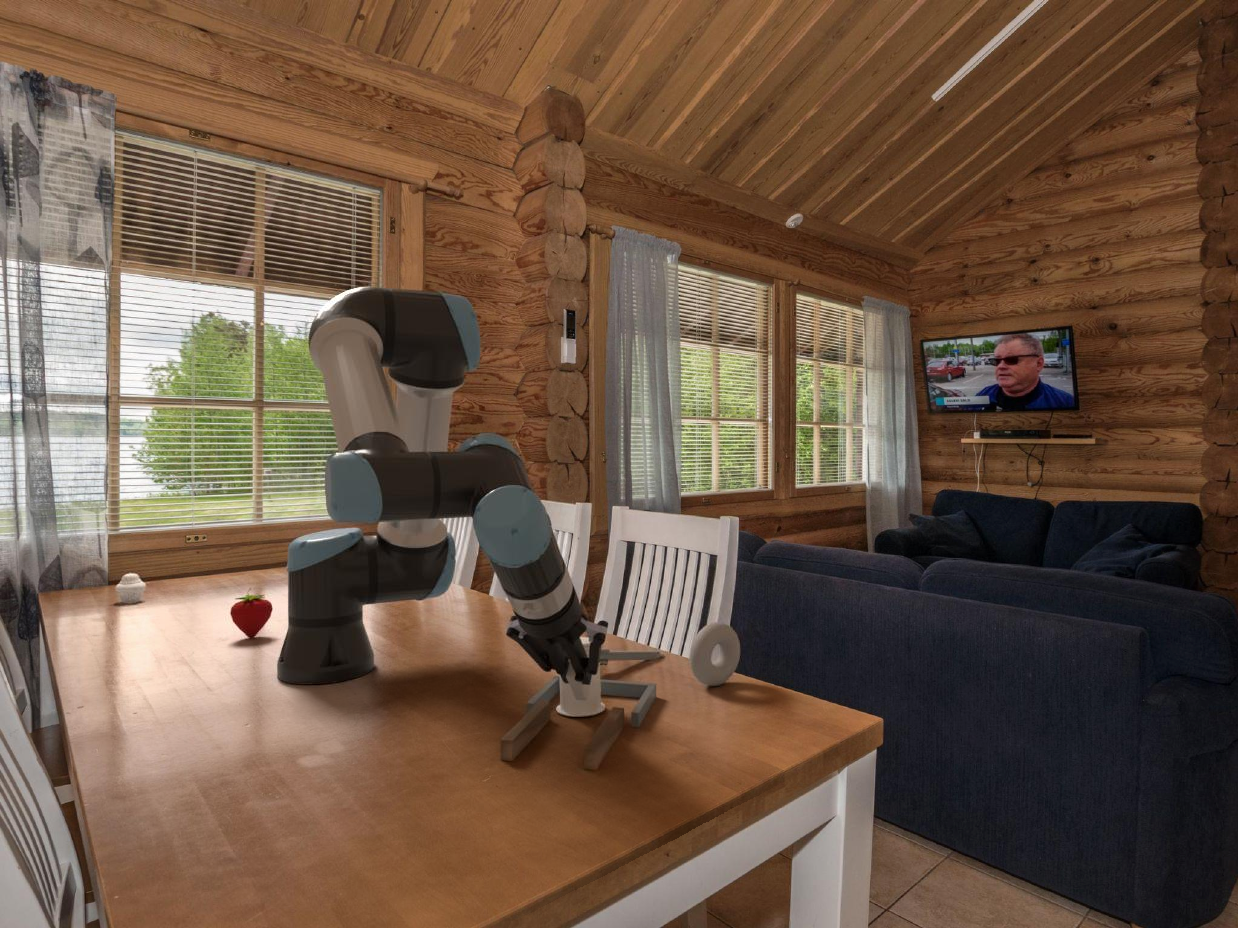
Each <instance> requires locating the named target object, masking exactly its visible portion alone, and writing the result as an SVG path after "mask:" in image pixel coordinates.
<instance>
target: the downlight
mask: <svg viewBox="0 0 1238 928" xmlns="http://www.w3.org/2000/svg"><path fill="white" fill-rule="evenodd" d="M580 639H581V642H582V644H583V647H584V649H585V652H586V654H587V657H588V658H589V647H590V643H591V642H589V641H588V640H589V637H588V636H587V637H585V636H580ZM569 661H570V660H569ZM558 676H559V677H560V691H559V701H560V702H559V704H558V705H557V706H556V708H555V709H556V713H558V714H560V715H562V716H566V717H575V718H576V717H589V716H596V715H598V714H600V713H603V712H604V710H606V705H605V704H604V703H603V702H602V698H601V696H602V695H601V682H600V679H601V665H600V663H599V666H598V671H597V674H596V675H592V677H591V683H590V688H589V692H588V697H587V701H583V700H576V698H575V696H574V694H573V691H572V689H571V687H570V685H569V684H568V683H564V682H563V680H562V678H561V676H560V675H559V674H558Z"/></svg>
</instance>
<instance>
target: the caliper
mask: <svg viewBox="0 0 1238 928" xmlns="http://www.w3.org/2000/svg"><path fill="white" fill-rule="evenodd" d="M665 657H666V656H665V654H663V653H661V651H659V650H610V648H605V647H601V655H600V661H599V663H600V666H608V664H609V663H608V662H610V661H654V660H659V659H660V658H665Z"/></svg>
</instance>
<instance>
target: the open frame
mask: <svg viewBox="0 0 1238 928" xmlns="http://www.w3.org/2000/svg"><path fill="white" fill-rule="evenodd" d="M600 682H601V696H614V697H615V696H616V697H627V698H636V699H637V698H639V699H638V701H637V702H636V704H635V706H634V707H633V709H632V711H631V714H630V715H631V718H630V721H631V722H630V723H631V725H630V726H631V728H636V729H637V728H639V727H640V726H641V724H642V722H644V721H643V720H644V719H645V717H646V716H647V713H648V712H649V710H650V709H651V706H652V705H653V703H654V702H655V700H656V699H657V683H653V682H652V683H650V682H638V681H625V680H616V679H615V680H614V679H603V678H602V679H601V678H600ZM558 693H560V677H559V675H554V676H553V677H552V678H551V679H550V680H549V681H548V682H547V683H546V684H545V685H544V686H543V687H542V688H541V689H539V690H538V692H536V693H535V694H534V695H533V696H532V697H531V698H530V699H529V700H528V701H526V705H525V707H526V709H525V710H526V713H525V715H526V714H527V713H528V712H529V711H530V710H531V709H532V708H533V707H534V706H535V705H536V704H537V703H538V702H539V701H549V702H551V700H552V699H553V698H554V697H555V696H556V695H557V694H558Z"/></svg>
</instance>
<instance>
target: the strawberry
mask: <svg viewBox="0 0 1238 928" xmlns="http://www.w3.org/2000/svg"><path fill="white" fill-rule="evenodd" d="M251 589H252V588H251V587H250V588H249V589H248V591H247V592H246V593H247V594H246V595H245V596H242V597H236V598H234V600H241V601H237V602H235V603H234V604H233V605H232V606H231V608H230V616H231V617H230V618H231V619H232V623H233V624H234V625H235V626H236V627H237V628H238V629H239V630H240V631H241V632H243V634H244V635H245V636H246V637H247V638H249V639H253V638H255V637H256V636H257V635H258V634H259V632H260V631H261V630H262V629H263V628H264V627H265V626H266V623H267V622H268V621H269V619H270V618H271V616H272V612H273V605H272V602H271V601H269V600H267V599H265V598H266V597H265V594H259V595H256V594H251V595H250V594H249V593H250V591H251Z"/></svg>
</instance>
